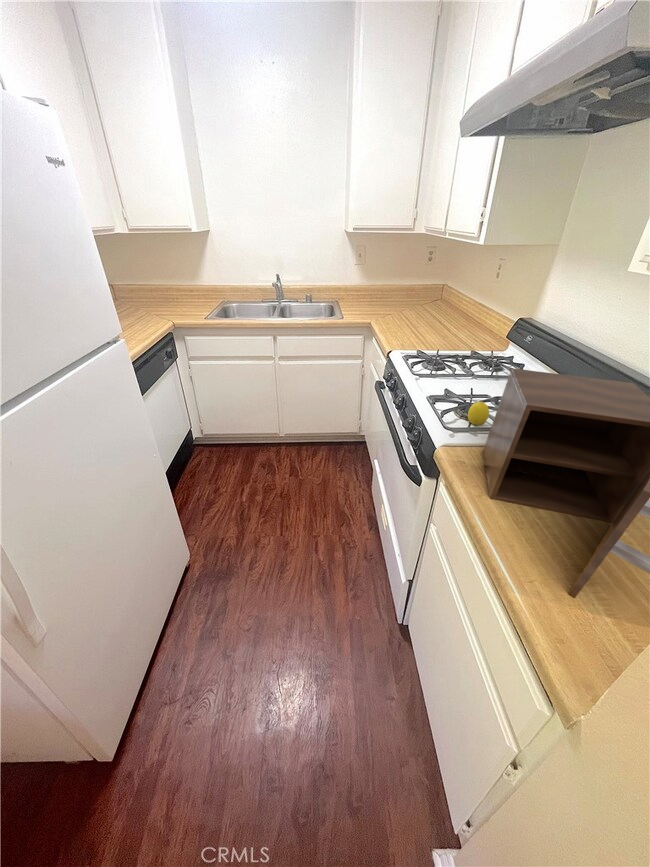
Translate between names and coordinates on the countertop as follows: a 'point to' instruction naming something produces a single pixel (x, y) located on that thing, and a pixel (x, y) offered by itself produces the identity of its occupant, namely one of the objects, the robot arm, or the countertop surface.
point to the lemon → (478, 413)
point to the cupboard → (569, 442)
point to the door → (611, 539)
